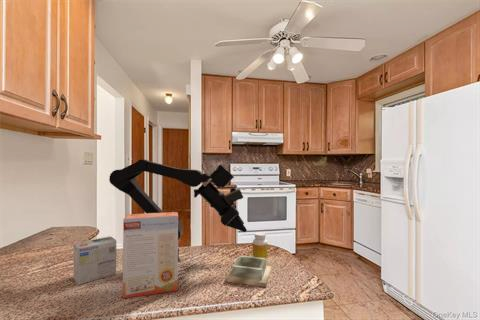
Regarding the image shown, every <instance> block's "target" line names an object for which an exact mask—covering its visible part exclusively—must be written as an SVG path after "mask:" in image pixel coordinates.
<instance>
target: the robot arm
mask: <svg viewBox="0 0 480 320" xmlns="http://www.w3.org/2000/svg"><path fill="white" fill-rule="evenodd" d="M144 172H146V173H151V174H155V175H158V176H162V177H167V178H170V179H175V180H177V181H179V182H181V183H183V184H185V185H187V186H189V187H193V188H196V187H198V186H199V187H198V188H197V189H193V193H194V194H193V198H194V199H195V198H197V197H198V196H199V195H200V197H202V199H204V200H205V201H206V202H207V203H208V204H209V206H210V208H211V209H213V210H215V211H216V213H218V215H219V217H220V223H221V224H222V225H223V226H224V227H230V228H232V229H235V230H238V231H240V232H243V233H246V232H247V231H248V229H247V227H246V226H245V225H244V224H245V223H244V220H243V219H242V218H241V216H240V212H239V210H238V208H237V205H236V203H235V202H237V201H239V200H242V199H244V195H243V193H242V191H241V188H235V187H231V188H230V189H229V192H228V193H224V192H221V191H220V190H219V189H220V188H222V189H224V188H225V187H226V186H227V185H228V184H229V183H230V182H231V181H232V180H233V179H234V178H235V177H234V175H233V174H232V173H231V172H230V171H229V170H228V169H226V168H225V167H224V166H223V165H222V164H219V165H218V166H217V168H216V169H215V170H214V171H213V172H212V173H211V174H210V173H203V172H202V171H200V170H199V169H192V168H191V169H189V168H177V167H173V166H169V165H166V164H163V163H160V162H159V163H158V162H155V161H150V160H148V159H143V158H142V159H139V160H137V161H135V162H134V163H131V164H130V165H127V166H125V167H124V168H121V169H116V170H115V169H114V170H113V171H112V172H111V173H110V175H109V179H108V180H109V183H110V184H111V185H112V186H113V187H114V188H116V189H117V190H119V192H122V193H125V194H127V195H128V196H129V197H130V198H131V199H132V200H133V201H134V203H136V204H137V206H139V207H140V209H142V211H143V212H144V214H145V213H165V212H164V211H163V210H162V208H160V207H159V205H158V204H157V203H156V202H155V201H154V200H153V199H152V198H151V197H150V196H149V195H148V194H147V193H146V192H145V191H144V190H143V189H142V188H141V186H140V184H139V182H138V181H139V180H138V179H137V177H138V176H140V175H141V174H143V173H144ZM205 182H207V183H206V184H204V183H205ZM202 183H203V184H202ZM182 224H183V222H182V221H180V220H179V219H178V241H179V240H180V238H181V237H182V235H183V234H184V226H183V225H182ZM179 256H180V249H179V248H178V262H179V261H181V258H180V257H179Z"/></svg>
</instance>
